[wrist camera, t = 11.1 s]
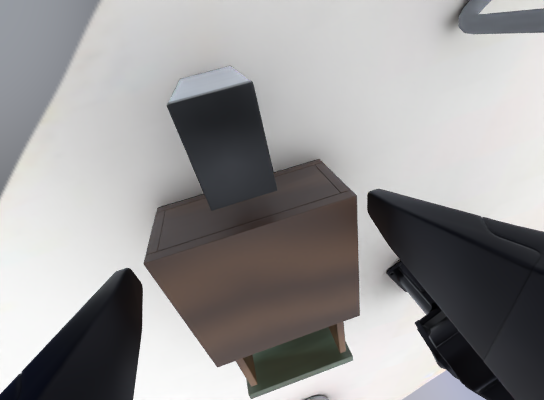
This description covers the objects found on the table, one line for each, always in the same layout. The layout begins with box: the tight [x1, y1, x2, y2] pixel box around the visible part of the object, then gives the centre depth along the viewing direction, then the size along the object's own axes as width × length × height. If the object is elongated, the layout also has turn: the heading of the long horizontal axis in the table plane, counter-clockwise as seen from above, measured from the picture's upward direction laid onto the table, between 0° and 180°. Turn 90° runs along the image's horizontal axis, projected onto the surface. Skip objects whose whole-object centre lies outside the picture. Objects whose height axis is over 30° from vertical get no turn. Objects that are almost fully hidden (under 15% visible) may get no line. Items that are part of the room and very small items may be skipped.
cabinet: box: [144, 159, 360, 367], centre depth 24 cm, size 15×15×7 cm
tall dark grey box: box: [167, 66, 277, 211], centre depth 15 cm, size 5×4×8 cm, turn 12°
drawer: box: [236, 322, 353, 399], centre depth 31 cm, size 18×13×5 cm
